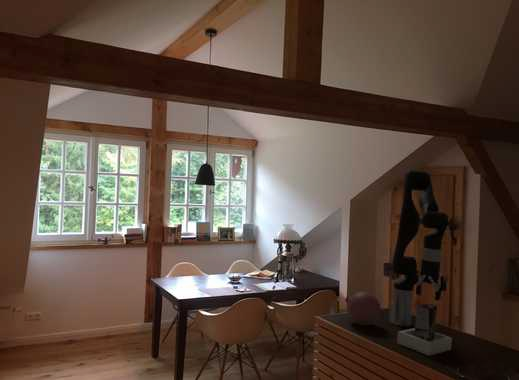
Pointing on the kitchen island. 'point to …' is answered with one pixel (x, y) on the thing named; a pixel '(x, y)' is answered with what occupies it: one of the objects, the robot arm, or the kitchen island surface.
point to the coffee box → (425, 322)
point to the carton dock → (424, 342)
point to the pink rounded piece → (363, 308)
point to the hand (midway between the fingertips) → (427, 297)
